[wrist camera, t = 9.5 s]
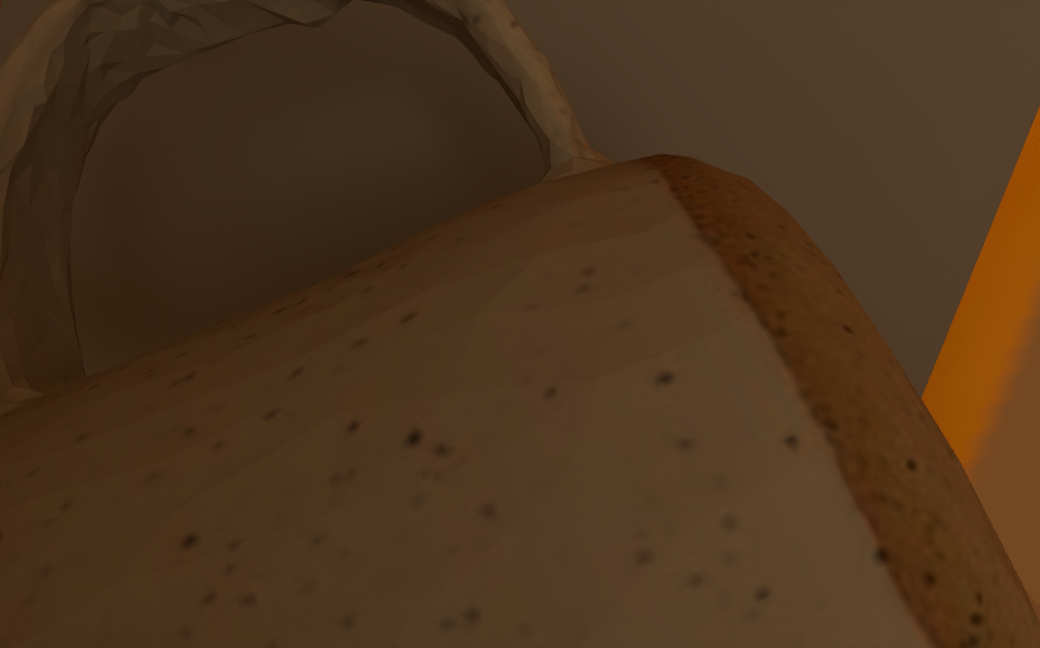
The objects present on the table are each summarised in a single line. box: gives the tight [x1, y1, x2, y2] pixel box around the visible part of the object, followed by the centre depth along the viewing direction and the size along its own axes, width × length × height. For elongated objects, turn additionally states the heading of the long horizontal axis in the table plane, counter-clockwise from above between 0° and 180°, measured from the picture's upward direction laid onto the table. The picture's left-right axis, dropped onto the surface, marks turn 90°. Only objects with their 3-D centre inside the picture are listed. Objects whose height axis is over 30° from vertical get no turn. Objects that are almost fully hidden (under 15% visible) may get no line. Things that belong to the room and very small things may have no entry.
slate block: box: [0, 0, 1040, 398], centre depth 19 cm, size 15×15×6 cm
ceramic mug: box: [0, 0, 1040, 648], centre depth 8 cm, size 11×8×8 cm
